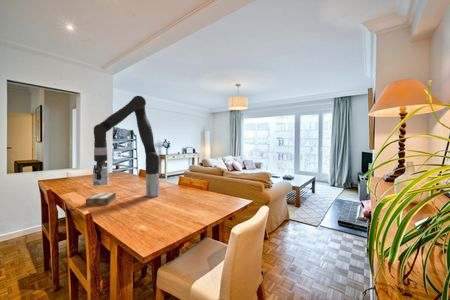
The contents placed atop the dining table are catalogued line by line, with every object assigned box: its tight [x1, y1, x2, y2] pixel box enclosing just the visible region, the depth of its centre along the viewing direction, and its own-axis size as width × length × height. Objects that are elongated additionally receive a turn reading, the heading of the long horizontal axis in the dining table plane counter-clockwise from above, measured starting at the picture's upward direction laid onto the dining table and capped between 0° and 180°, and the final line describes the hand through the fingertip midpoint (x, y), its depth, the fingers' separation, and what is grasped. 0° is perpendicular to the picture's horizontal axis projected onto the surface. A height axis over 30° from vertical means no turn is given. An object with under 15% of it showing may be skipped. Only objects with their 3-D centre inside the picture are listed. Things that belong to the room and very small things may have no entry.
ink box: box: [92, 166, 110, 187], centre depth 129 cm, size 9×5×12 cm, turn 112°
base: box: [85, 192, 117, 206], centre depth 130 cm, size 13×13×4 cm
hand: (101, 178), depth 129 cm, fingers closed on ink box, 5 cm apart
